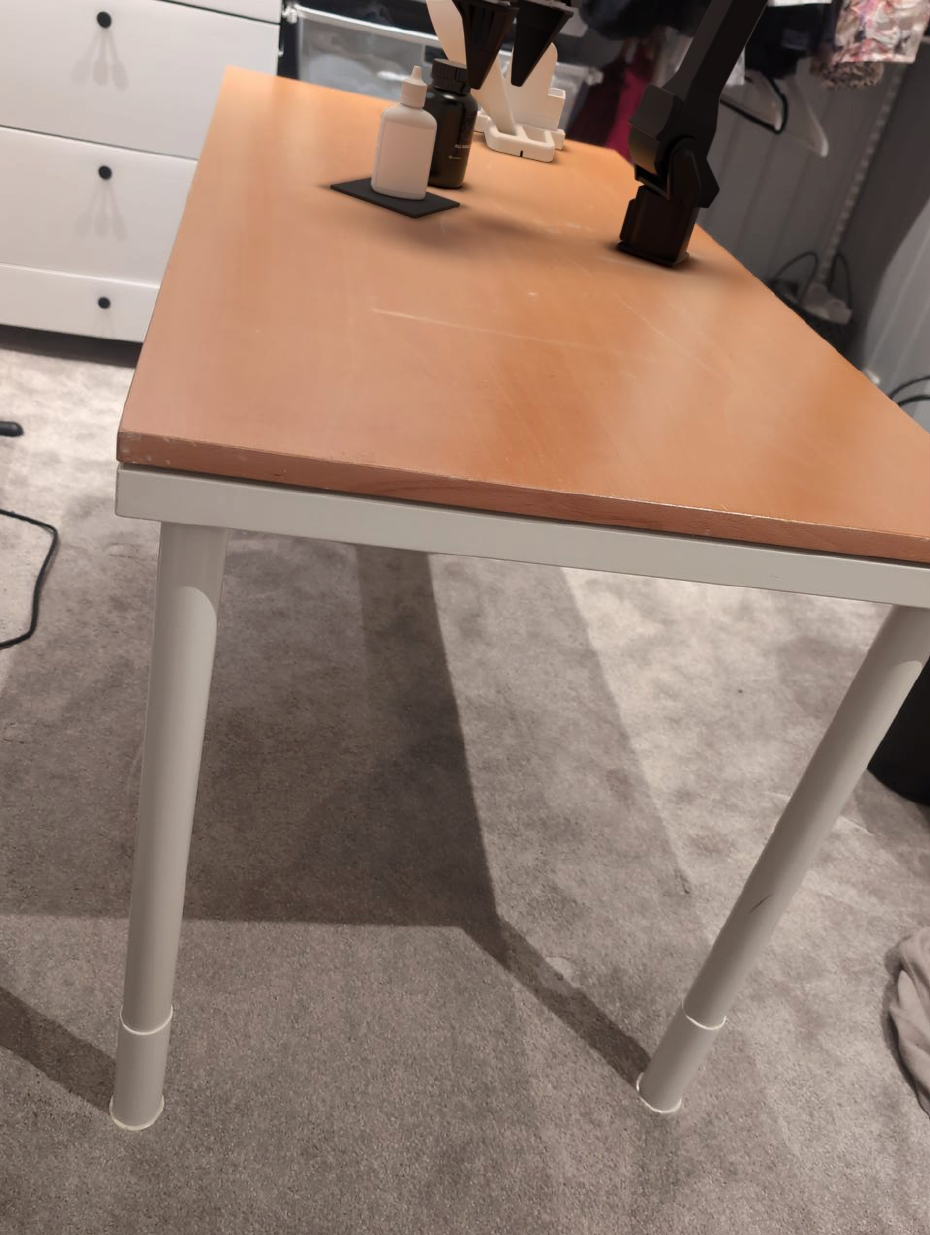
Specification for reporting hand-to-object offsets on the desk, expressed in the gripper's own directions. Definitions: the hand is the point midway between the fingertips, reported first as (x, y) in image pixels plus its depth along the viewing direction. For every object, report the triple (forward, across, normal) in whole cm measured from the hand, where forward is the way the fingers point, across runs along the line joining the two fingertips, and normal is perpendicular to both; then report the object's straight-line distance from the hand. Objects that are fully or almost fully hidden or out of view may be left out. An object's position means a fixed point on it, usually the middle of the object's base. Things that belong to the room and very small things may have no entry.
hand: (495, 87), depth 94 cm
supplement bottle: (+13, -15, -12) cm, 23 cm away
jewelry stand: (+13, -47, -22) cm, 54 cm away
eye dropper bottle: (+13, -3, -10) cm, 17 cm away
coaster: (+13, -3, -10) cm, 17 cm away
